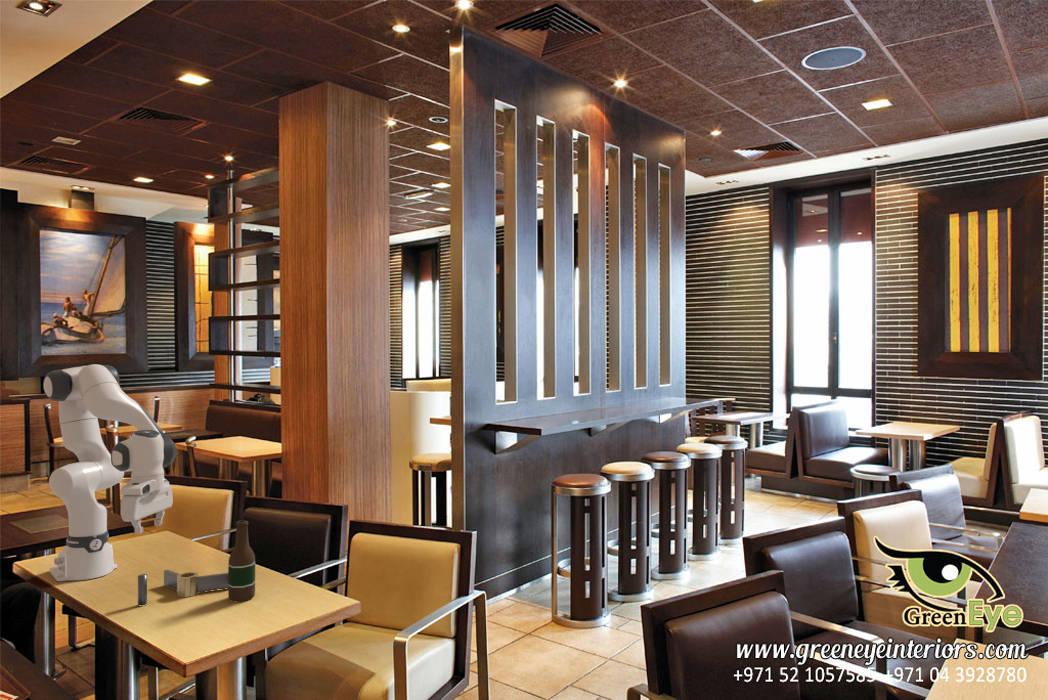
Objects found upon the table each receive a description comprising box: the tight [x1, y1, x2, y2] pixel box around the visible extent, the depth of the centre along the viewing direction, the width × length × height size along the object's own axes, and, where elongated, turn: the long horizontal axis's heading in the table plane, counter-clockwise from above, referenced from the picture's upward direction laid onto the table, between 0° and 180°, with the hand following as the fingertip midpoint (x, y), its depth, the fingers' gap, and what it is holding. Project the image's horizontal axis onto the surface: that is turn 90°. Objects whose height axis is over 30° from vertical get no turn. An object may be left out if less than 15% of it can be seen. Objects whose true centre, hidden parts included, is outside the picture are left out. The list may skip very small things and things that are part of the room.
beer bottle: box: [227, 519, 256, 603], centre depth 214 cm, size 8×8×24 cm
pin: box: [137, 573, 148, 606], centre depth 208 cm, size 2×2×9 cm
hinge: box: [163, 569, 228, 598], centre depth 223 cm, size 21×15×6 cm
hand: (148, 529), depth 209 cm, fingers open, 8 cm apart
